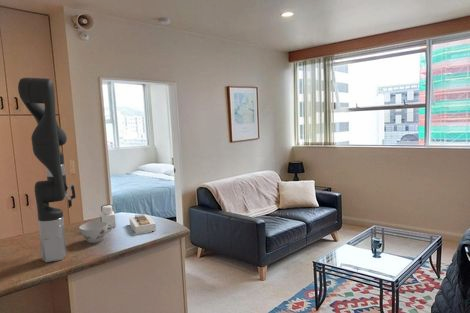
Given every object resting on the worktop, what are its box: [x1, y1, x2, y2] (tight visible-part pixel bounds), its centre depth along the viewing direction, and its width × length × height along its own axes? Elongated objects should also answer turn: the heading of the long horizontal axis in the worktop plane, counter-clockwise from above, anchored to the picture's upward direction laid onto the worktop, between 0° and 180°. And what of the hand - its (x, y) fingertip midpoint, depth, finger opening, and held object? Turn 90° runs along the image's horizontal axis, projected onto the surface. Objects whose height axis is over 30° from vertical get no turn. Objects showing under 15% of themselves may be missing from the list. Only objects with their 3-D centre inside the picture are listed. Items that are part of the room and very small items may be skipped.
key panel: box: [129, 214, 157, 235], centre depth 178 cm, size 19×10×4 cm, turn 27°
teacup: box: [79, 220, 113, 244], centre depth 160 cm, size 15×12×8 cm
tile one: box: [139, 219, 150, 225], centre depth 172 cm, size 4×4×3 cm
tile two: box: [137, 217, 147, 222], centre depth 177 cm, size 4×4×3 cm
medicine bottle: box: [99, 204, 117, 229], centre depth 181 cm, size 7×7×12 cm
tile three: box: [134, 213, 145, 219], centre depth 183 cm, size 4×4×3 cm
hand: (59, 208), depth 153 cm, fingers open, 8 cm apart
